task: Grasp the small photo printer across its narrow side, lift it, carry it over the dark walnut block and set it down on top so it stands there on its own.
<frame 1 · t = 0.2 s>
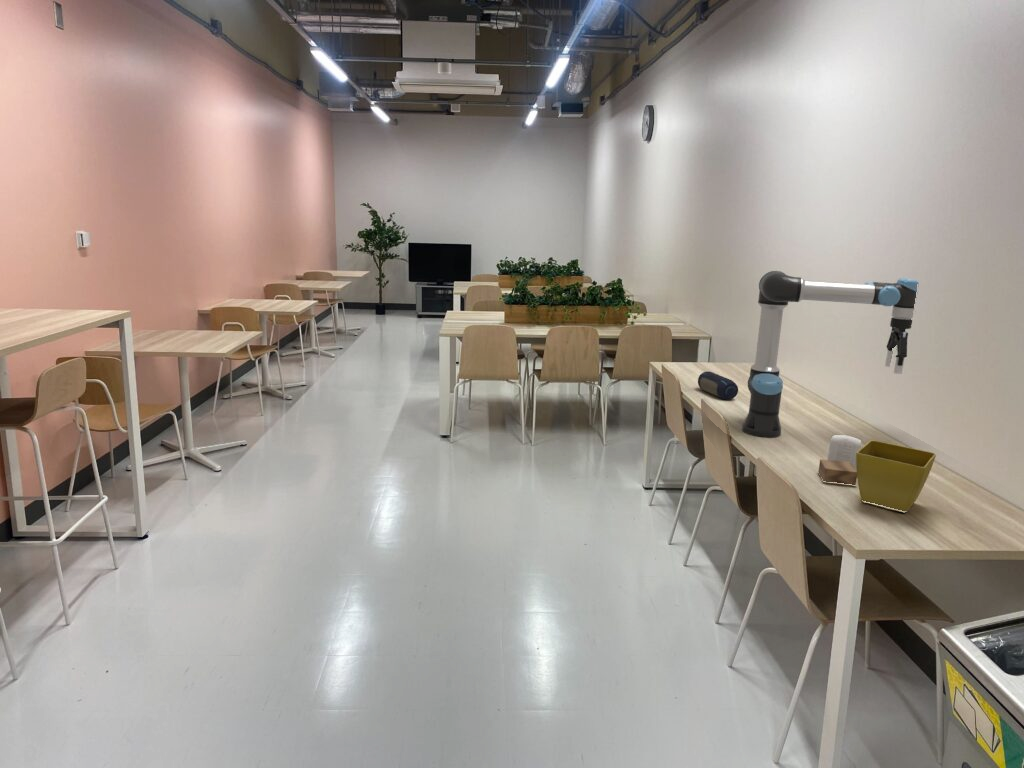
hand: (893, 370, 289), 28 cm above the table, fingers open, 13 cm apart
photo printer: (841, 469, 254), on the table
flower pot: (887, 503, 225), on the table
walnut block: (836, 479, 244), on the table
portable speaker: (715, 395, 353), on the table
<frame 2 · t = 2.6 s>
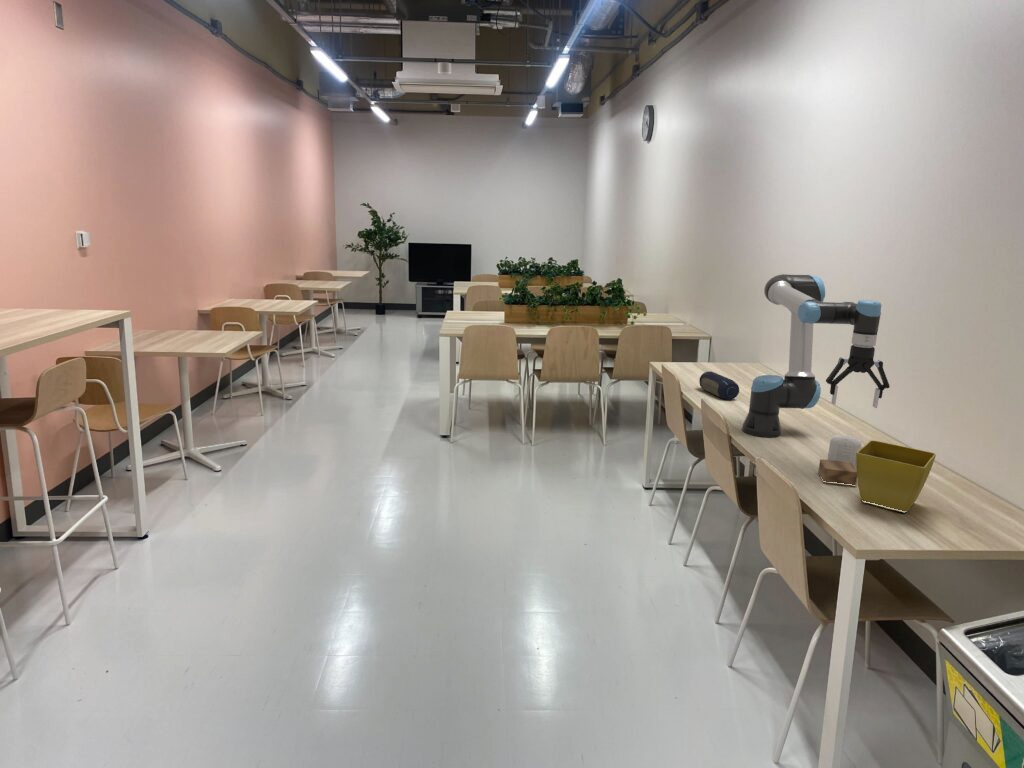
hand: (853, 405, 250), 23 cm above the table, fingers open, 13 cm apart
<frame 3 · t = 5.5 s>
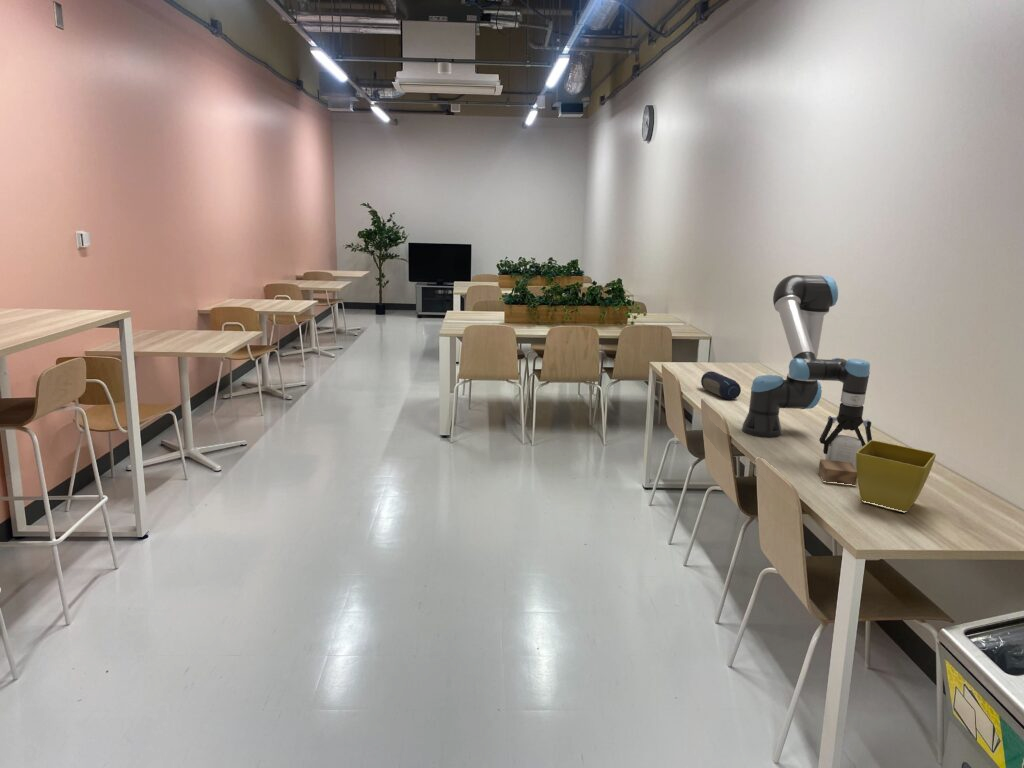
hand: (842, 464, 254), 2 cm above the table, fingers closed on photo printer, 10 cm apart
photo printer: (841, 469, 254), on the table, touching gripper
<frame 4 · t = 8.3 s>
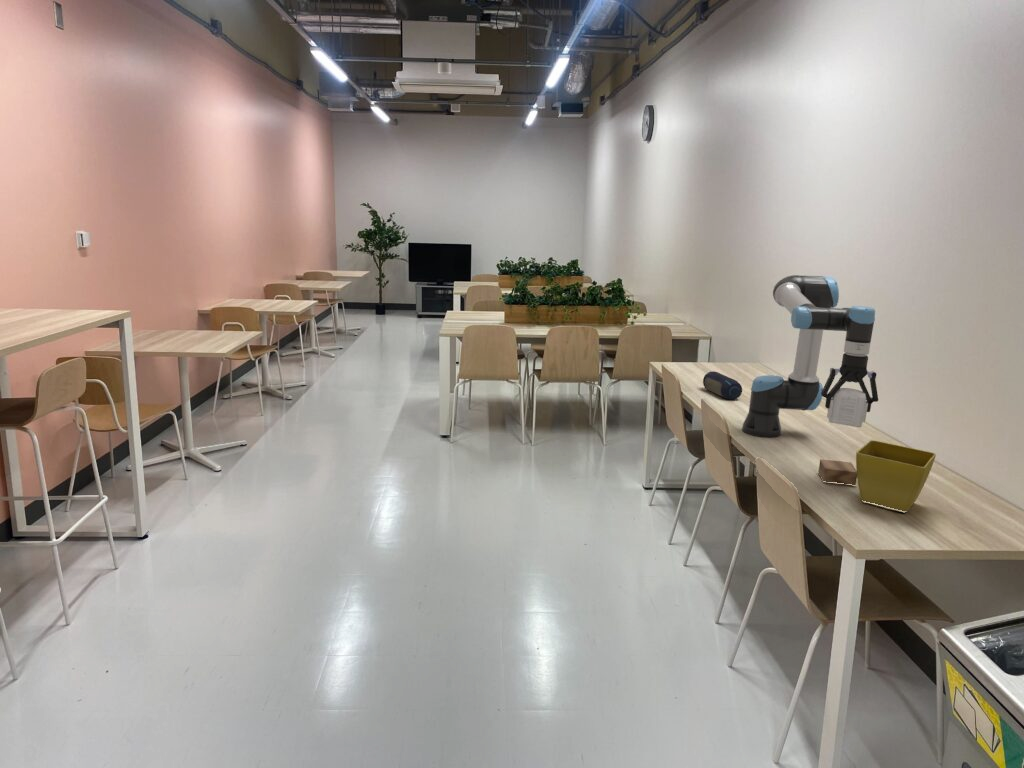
hand: (845, 419, 239), 21 cm above the table, fingers closed on photo printer, 10 cm apart
photo printer: (844, 425, 239), point 19 cm above the table, touching gripper
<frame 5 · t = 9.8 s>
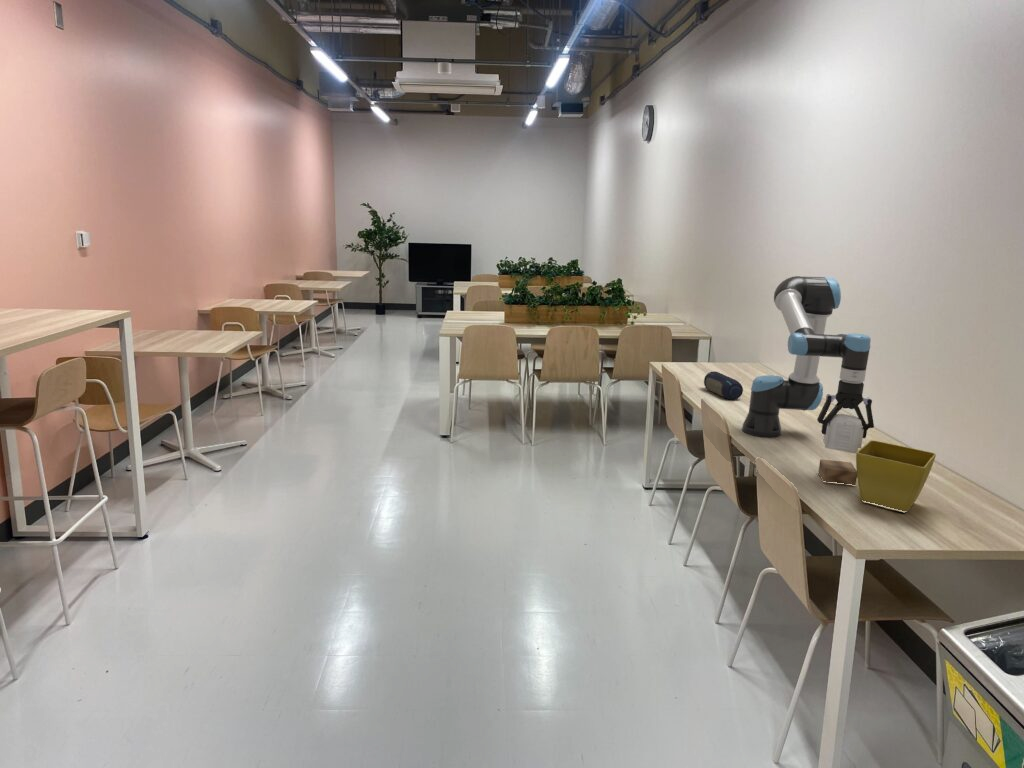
hand: (841, 445, 241), 12 cm above the table, fingers closed on photo printer, 10 cm apart
photo printer: (841, 450, 241), point 10 cm above the table, touching gripper
when the fingers open (8 cm above the table, at t = 11.3 s): photo printer stays where it is, resting on walnut block.
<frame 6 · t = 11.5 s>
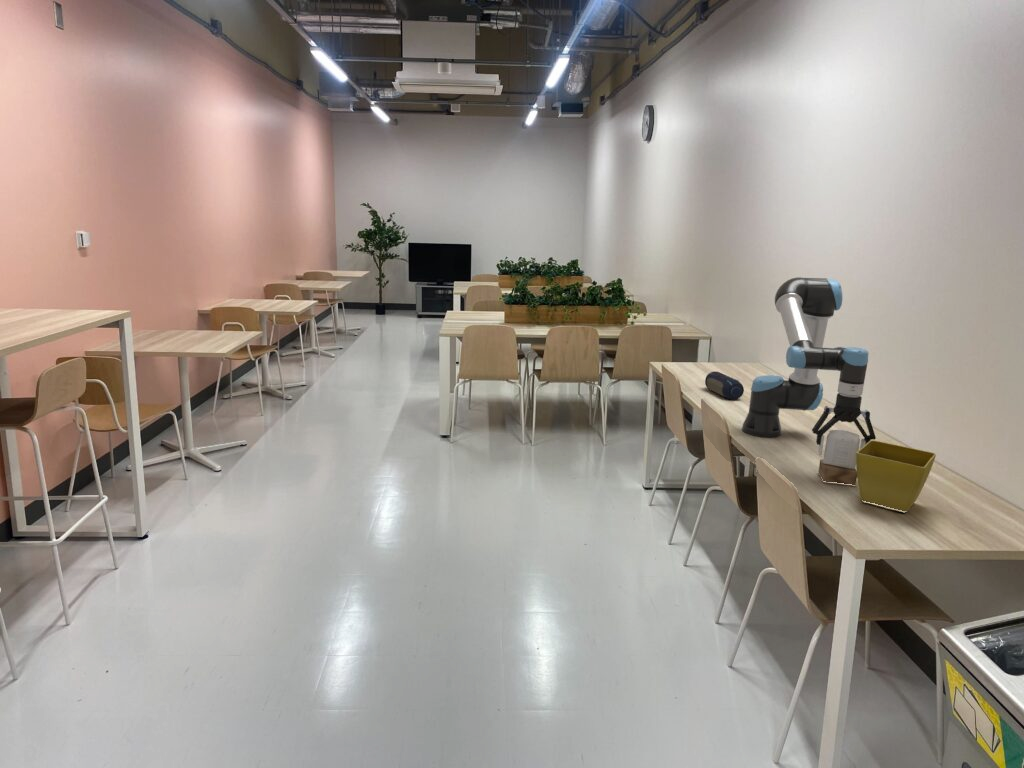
hand: (840, 456, 242), 8 cm above the table, fingers open, 12 cm apart
photo printer: (839, 466, 242), point 5 cm above the table, touching walnut block
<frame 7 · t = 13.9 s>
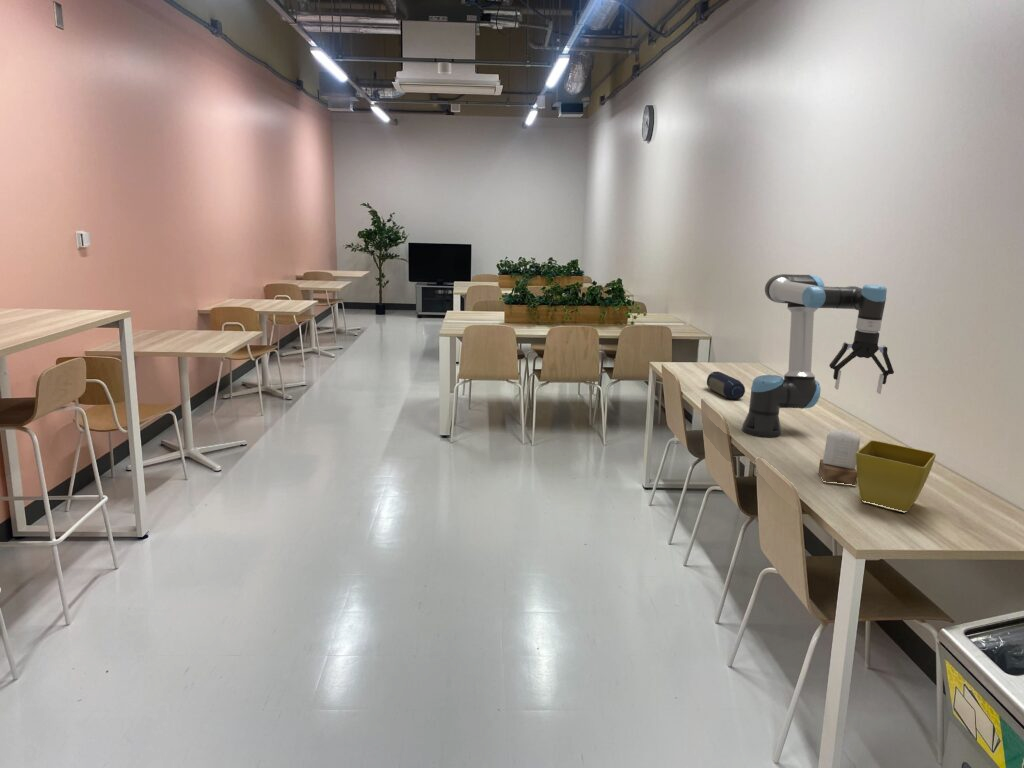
hand: (857, 390, 249), 28 cm above the table, fingers open, 13 cm apart
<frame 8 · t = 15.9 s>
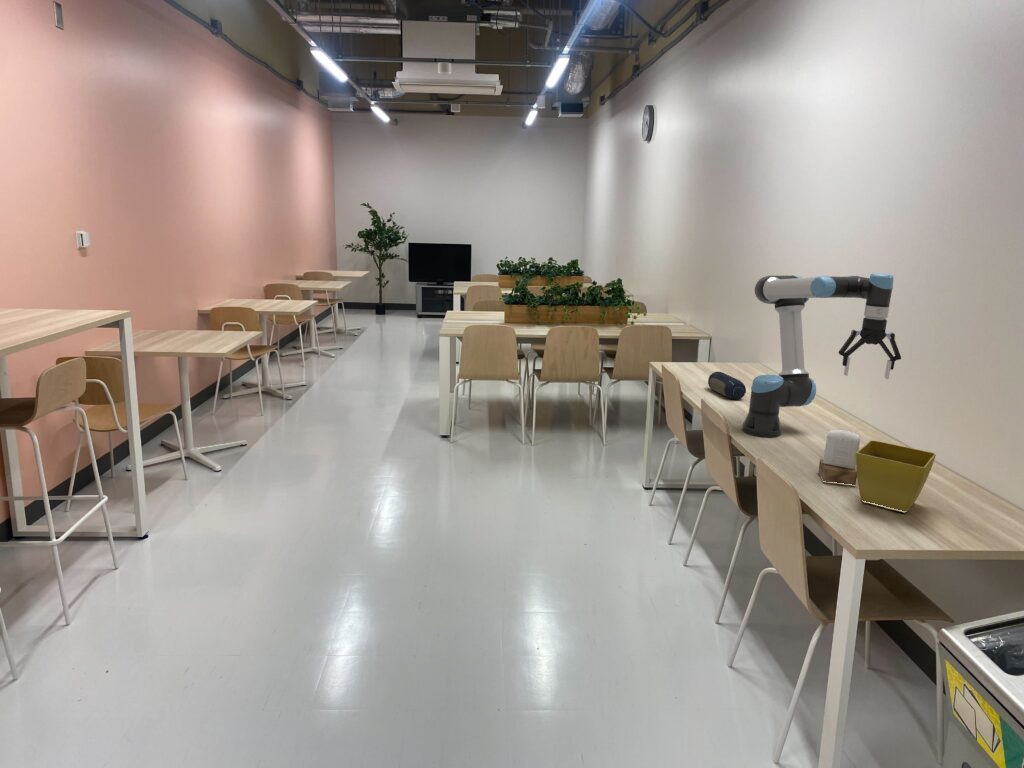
hand: (866, 376, 257), 32 cm above the table, fingers open, 13 cm apart
at the end: photo printer inside the target area on the walnut block (0.2 cm from its centre), point 4.8 cm above the walnut block's base; photo printer tilted 0°; photo printer touching walnut block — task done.
